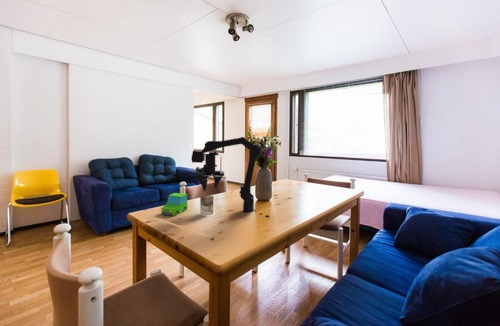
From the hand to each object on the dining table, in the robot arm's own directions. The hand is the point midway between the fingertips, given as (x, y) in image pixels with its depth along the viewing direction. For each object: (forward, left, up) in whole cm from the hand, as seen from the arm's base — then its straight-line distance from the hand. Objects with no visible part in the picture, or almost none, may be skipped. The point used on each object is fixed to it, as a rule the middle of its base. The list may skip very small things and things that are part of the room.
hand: (210, 189), depth 137 cm
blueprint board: (+7, +3, -12) cm, 15 cm away
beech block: (+7, +4, -12) cm, 14 cm away
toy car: (+16, -12, -13) cm, 24 cm away
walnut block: (+7, +4, -7) cm, 10 cm away
